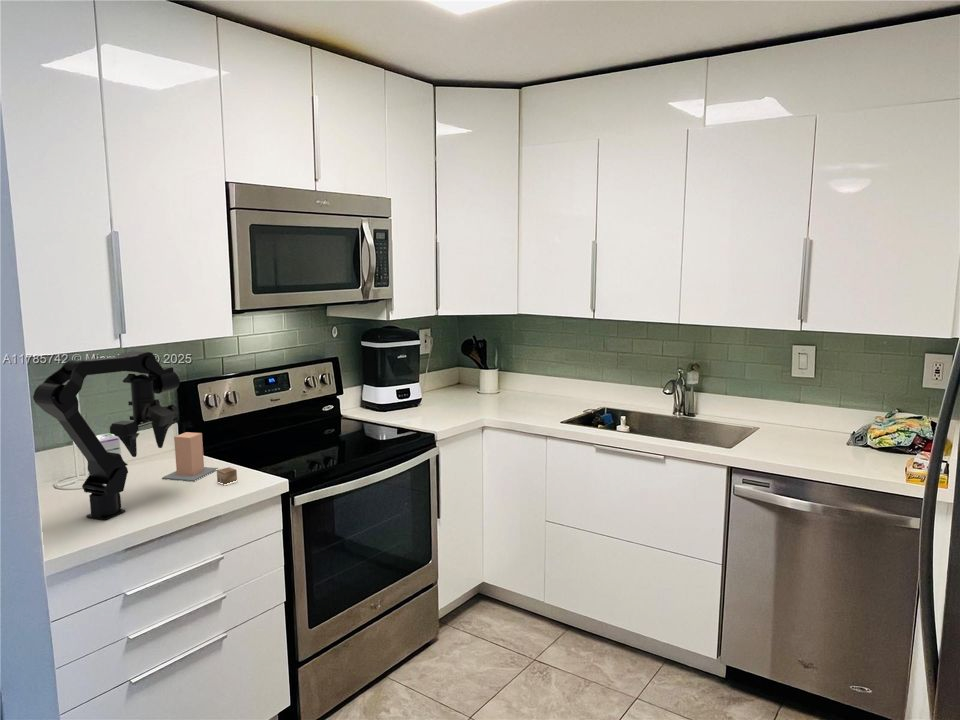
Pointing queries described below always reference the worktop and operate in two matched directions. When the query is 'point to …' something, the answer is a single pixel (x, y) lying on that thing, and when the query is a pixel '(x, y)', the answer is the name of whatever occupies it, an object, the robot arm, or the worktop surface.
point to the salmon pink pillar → (189, 453)
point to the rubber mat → (189, 478)
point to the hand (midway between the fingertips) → (147, 452)
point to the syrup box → (110, 443)
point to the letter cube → (226, 475)
